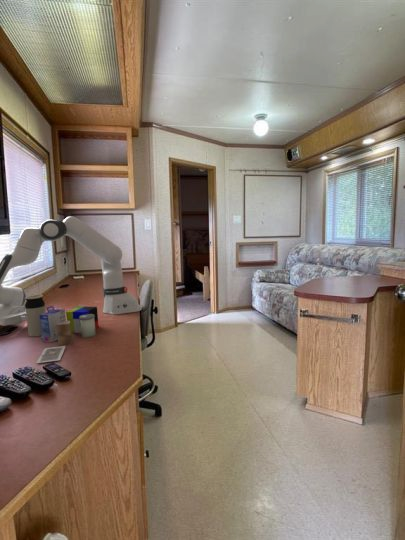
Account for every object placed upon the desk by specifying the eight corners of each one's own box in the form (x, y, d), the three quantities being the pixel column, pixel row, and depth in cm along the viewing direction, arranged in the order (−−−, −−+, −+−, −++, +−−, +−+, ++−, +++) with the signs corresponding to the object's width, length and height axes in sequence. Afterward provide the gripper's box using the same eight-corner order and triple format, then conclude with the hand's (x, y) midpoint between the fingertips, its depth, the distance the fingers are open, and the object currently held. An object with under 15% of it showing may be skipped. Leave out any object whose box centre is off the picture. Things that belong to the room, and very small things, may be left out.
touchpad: (66, 348, 127) (65, 343, 127) (60, 362, 112) (59, 357, 112) (45, 351, 125) (44, 345, 124) (36, 366, 110) (35, 360, 110)
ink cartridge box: (58, 334, 144) (55, 303, 142) (68, 335, 142) (65, 304, 140) (41, 341, 134) (38, 309, 133) (51, 342, 133) (48, 309, 131)
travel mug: (51, 332, 146) (47, 295, 144) (34, 337, 140) (30, 298, 137) (41, 330, 151) (37, 293, 148) (25, 335, 144) (20, 297, 142)
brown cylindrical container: (72, 340, 135) (70, 320, 134) (71, 344, 130) (69, 323, 129) (59, 342, 133) (57, 321, 132) (58, 346, 128) (56, 325, 127)
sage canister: (97, 332, 144) (95, 313, 143) (94, 336, 138) (93, 317, 137) (82, 333, 143) (80, 314, 142) (79, 338, 137) (77, 318, 136)
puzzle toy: (87, 333, 144) (85, 312, 143) (68, 332, 146) (66, 311, 145) (98, 326, 154) (96, 306, 152) (80, 326, 156) (78, 306, 154)
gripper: (-8, 313, 146) (6, 317, 139) (35, 304, 163) (50, 306, 155) (-6, 326, 147) (8, 330, 139) (37, 315, 164) (51, 319, 156)
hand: (30, 318), depth 148 cm, fingers closed
